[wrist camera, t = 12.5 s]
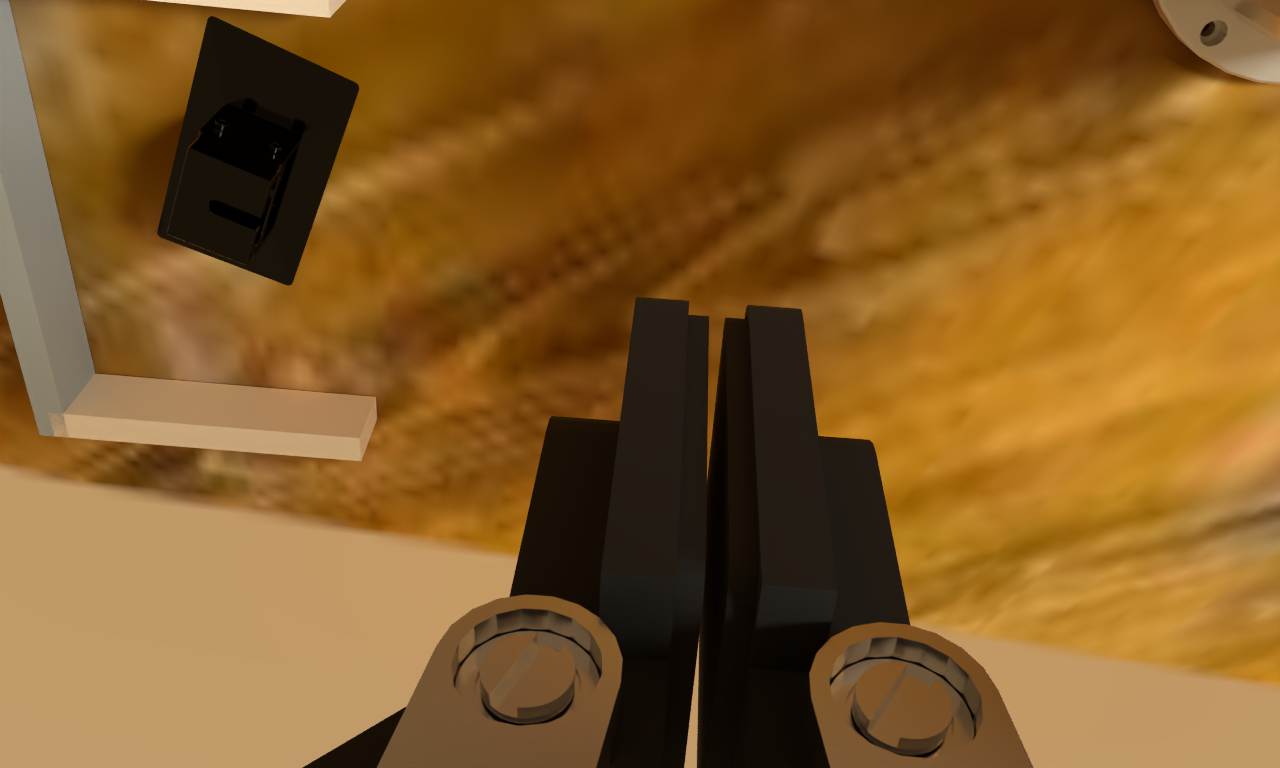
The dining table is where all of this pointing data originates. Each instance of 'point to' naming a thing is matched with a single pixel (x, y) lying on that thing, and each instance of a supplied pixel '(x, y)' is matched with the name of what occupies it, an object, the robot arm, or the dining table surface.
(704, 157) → the dining table surface
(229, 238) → the black boxy piece
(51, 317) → the u-shaped wooden bracket
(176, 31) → the dining table surface
